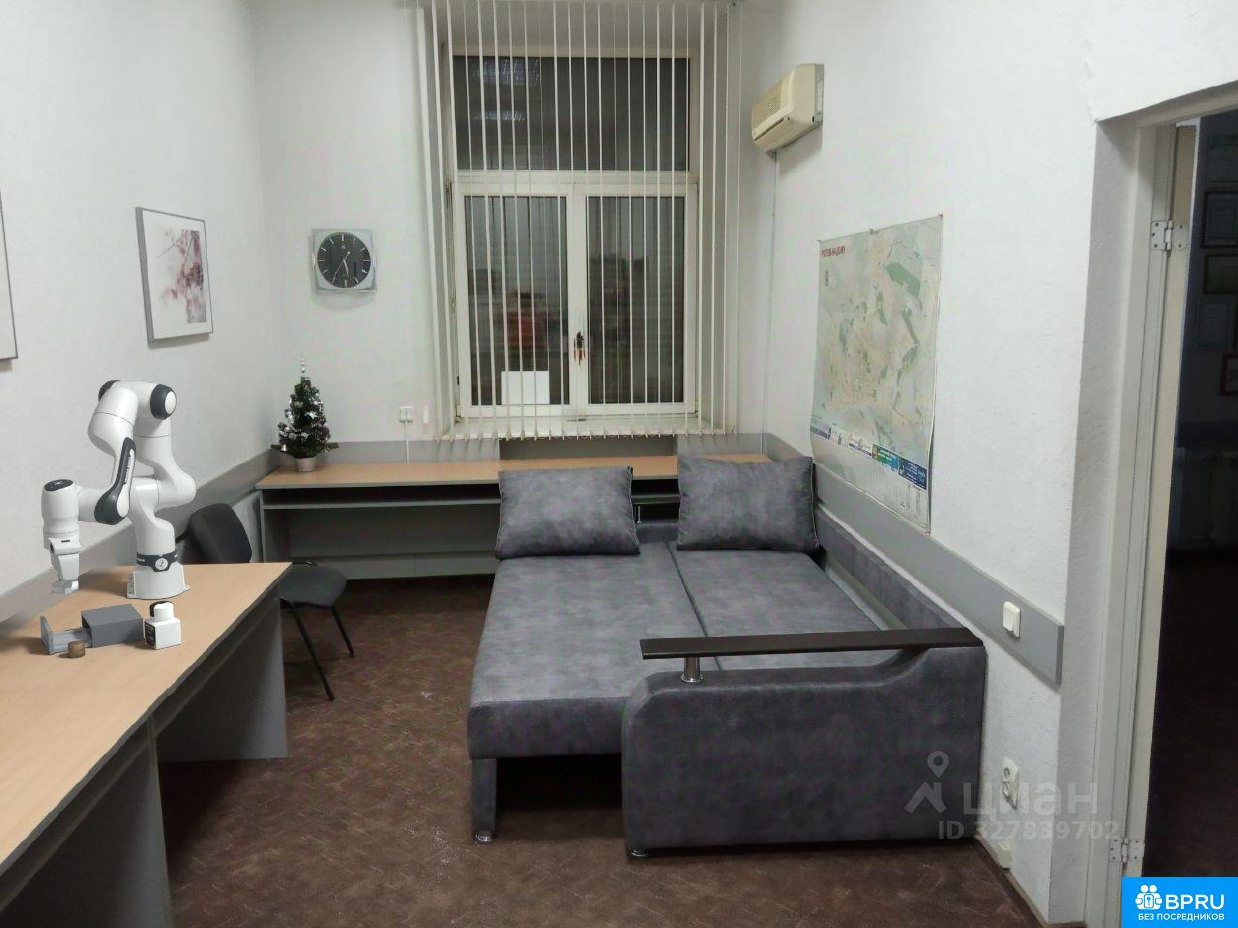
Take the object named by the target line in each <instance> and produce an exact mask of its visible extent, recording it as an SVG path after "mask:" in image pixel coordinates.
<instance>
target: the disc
mask: <svg viewBox="0 0 1238 928" xmlns="http://www.w3.org/2000/svg"><path fill="white" fill-rule="evenodd" d="M63 586H64V583H63V581H62V580H59V579H58V580H56V581H53V582H51V593H53V594H56V595H57V594H58V595H59V594H61V595H62V594H65V593H64V587H63ZM78 590H79V581H78V580H77V581H73V583H72V593H75V592H77V591H78Z"/></svg>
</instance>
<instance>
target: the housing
mask: <svg viewBox="0 0 1238 928" xmlns="http://www.w3.org/2000/svg"><path fill="white" fill-rule="evenodd" d="M80 616H81V626H84V628H90V627H91V633H92V646H91V647H92V649H95V648H100V647H106V646H107V647H108V646H112V645H119V644H125V643H129V642H135V641H140V640H141V641H142V640H145V627H144V617H143V616H142V615H141V614H140V613H139V611H138V610H137V609H136V608H135V607H134V606H133V604H132V603H125V604H117V605H112V606H111V605H110V606H104V607H98V608H91V609H83V610H81V611H80Z"/></svg>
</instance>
